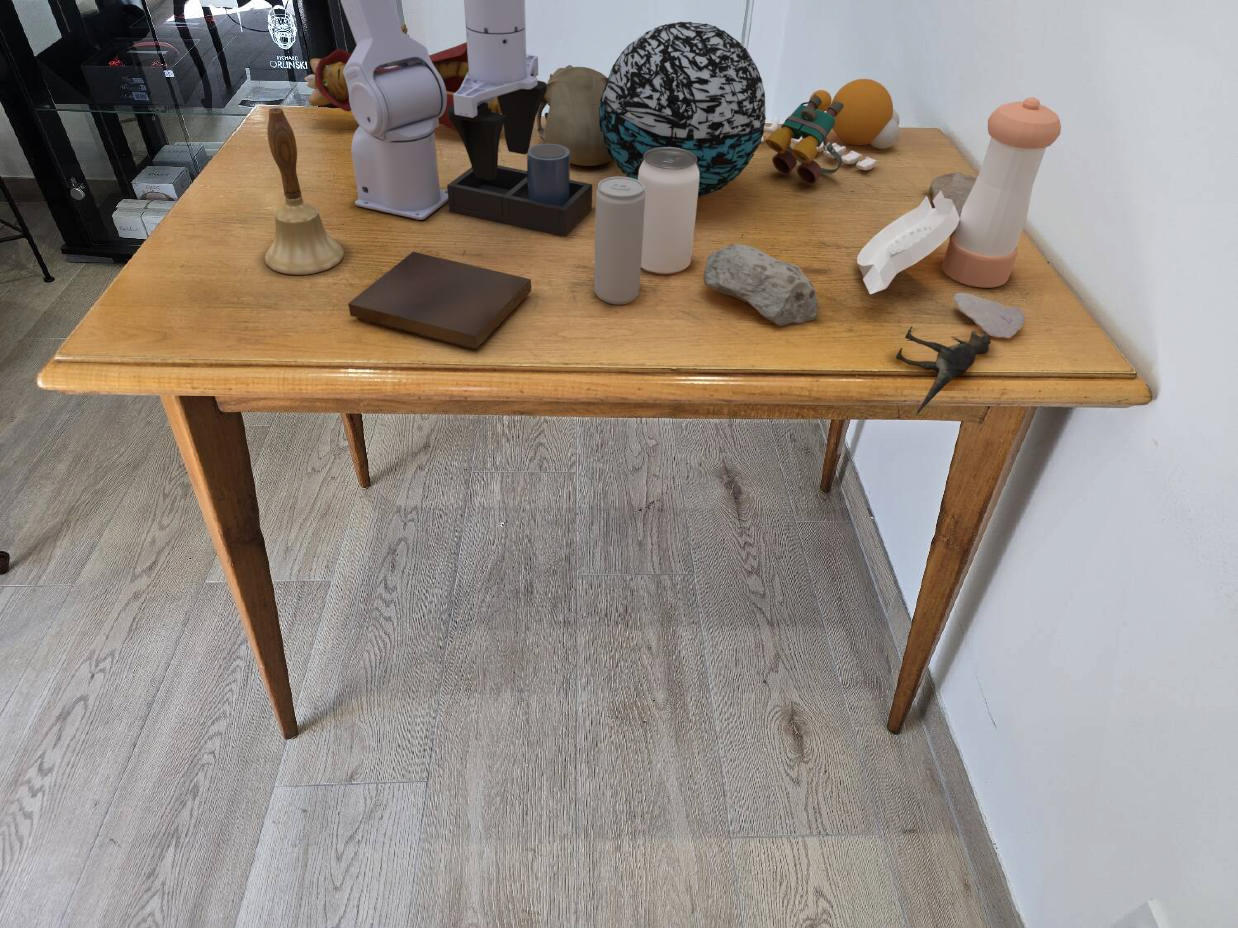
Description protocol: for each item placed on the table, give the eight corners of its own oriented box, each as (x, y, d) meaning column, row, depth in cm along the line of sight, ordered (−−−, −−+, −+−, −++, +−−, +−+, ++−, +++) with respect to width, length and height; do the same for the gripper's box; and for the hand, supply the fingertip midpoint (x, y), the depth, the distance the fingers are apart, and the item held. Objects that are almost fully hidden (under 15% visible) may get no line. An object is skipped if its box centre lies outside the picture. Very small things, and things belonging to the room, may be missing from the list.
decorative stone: (694, 317, 91) (699, 273, 87) (708, 268, 99) (713, 226, 95) (814, 334, 89) (824, 290, 86) (818, 283, 97) (827, 241, 94)
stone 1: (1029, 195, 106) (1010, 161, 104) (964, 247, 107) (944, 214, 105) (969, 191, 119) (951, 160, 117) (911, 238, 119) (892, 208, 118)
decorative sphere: (637, 239, 103) (648, 57, 90) (572, 172, 117) (573, 7, 104) (784, 214, 110) (814, 41, 97) (706, 154, 123) (723, -4, 110)
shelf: (351, 321, 87) (347, 303, 86) (415, 268, 96) (412, 251, 95) (476, 354, 84) (475, 336, 83) (531, 296, 92) (531, 279, 91)
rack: (449, 211, 107) (446, 185, 105) (480, 186, 113) (479, 161, 111) (565, 236, 103) (565, 210, 101) (592, 209, 109) (592, 184, 107)
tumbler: (521, 213, 105) (519, 154, 100) (539, 197, 109) (538, 140, 104) (559, 221, 104) (559, 162, 99) (576, 204, 107) (576, 147, 103)
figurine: (514, 137, 118) (293, 130, 119) (527, 169, 131) (328, 162, 132) (519, 18, 118) (298, 11, 119) (531, 61, 131) (332, 55, 132)
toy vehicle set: (866, 165, 119) (862, 178, 121) (879, 157, 122) (876, 170, 123) (791, 136, 125) (789, 149, 126) (806, 129, 127) (803, 142, 128)
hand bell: (359, 250, 98) (335, 104, 88) (310, 282, 93) (278, 130, 82) (300, 233, 101) (270, 89, 91) (248, 264, 95) (210, 113, 85)
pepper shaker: (974, 293, 96) (1035, 115, 84) (928, 264, 101) (979, 91, 89) (1022, 280, 99) (1088, 106, 87) (974, 252, 104) (1031, 83, 91)
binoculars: (770, 180, 123) (754, 129, 114) (810, 132, 124) (797, 77, 115) (825, 203, 118) (812, 150, 109) (866, 153, 119) (856, 97, 110)
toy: (806, 171, 128) (910, 155, 127) (807, 105, 121) (917, 88, 120) (793, 141, 134) (893, 126, 133) (794, 78, 127) (898, 61, 127)
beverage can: (634, 309, 91) (641, 199, 83) (589, 303, 92) (591, 193, 84) (642, 287, 95) (649, 179, 87) (599, 281, 95) (602, 173, 88)
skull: (598, 94, 130) (609, 25, 120) (625, 189, 123) (639, 124, 113) (521, 98, 127) (526, 27, 117) (544, 194, 120) (551, 128, 110)
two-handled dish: (981, 189, 103) (975, 175, 102) (926, 274, 86) (918, 258, 86) (900, 222, 110) (894, 209, 109) (833, 307, 93) (826, 292, 93)
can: (697, 255, 101) (708, 151, 93) (681, 280, 96) (692, 174, 88) (643, 244, 102) (649, 141, 94) (625, 269, 98) (630, 163, 90)
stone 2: (1006, 348, 89) (1014, 332, 88) (938, 317, 92) (945, 301, 91) (1027, 325, 92) (1034, 309, 91) (961, 295, 95) (967, 279, 94)
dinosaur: (925, 325, 92) (988, 355, 90) (852, 405, 79) (924, 442, 76) (939, 295, 90) (1004, 325, 88) (867, 372, 76) (942, 409, 74)
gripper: (498, 52, 78) (505, 197, 87) (564, 14, 89) (564, 148, 98) (428, 40, 80) (442, 184, 89) (501, 5, 91) (507, 137, 99)
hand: (502, 164), depth 93 cm, fingers open, 7 cm apart
